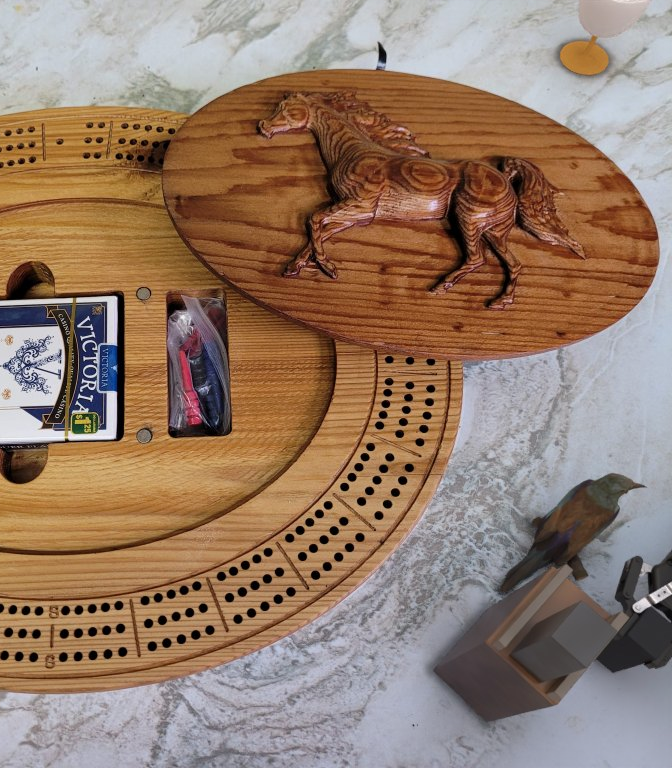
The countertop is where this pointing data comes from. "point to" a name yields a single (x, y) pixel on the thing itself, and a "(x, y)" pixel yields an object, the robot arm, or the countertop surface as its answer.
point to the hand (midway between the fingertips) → (633, 651)
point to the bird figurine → (571, 527)
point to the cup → (600, 32)
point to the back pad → (638, 642)
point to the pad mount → (554, 634)
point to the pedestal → (490, 667)
